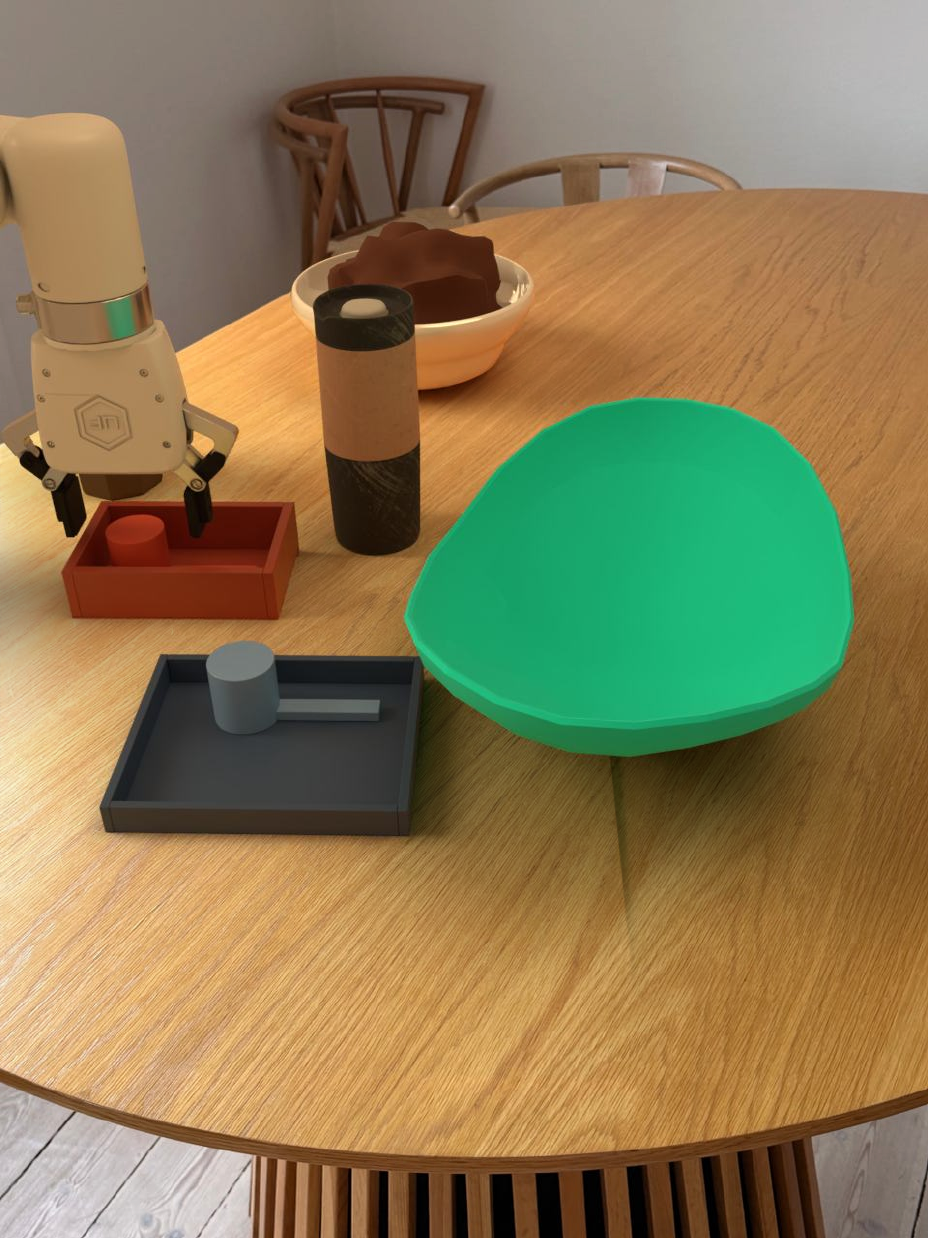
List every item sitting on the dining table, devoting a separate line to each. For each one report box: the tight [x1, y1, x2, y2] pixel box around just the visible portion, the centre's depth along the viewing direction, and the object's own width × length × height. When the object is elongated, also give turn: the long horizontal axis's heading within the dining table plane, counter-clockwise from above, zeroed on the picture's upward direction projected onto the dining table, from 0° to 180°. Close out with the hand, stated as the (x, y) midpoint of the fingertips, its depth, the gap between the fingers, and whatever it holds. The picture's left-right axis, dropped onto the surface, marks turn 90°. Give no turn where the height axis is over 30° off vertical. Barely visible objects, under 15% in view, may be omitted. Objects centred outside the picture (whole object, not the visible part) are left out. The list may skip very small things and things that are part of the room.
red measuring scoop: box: [105, 515, 258, 567], centre depth 94 cm, size 11×4×4 cm, turn 88°
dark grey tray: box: [98, 653, 425, 838], centre depth 78 cm, size 18×15×2 cm
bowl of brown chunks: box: [289, 221, 536, 391], centre depth 125 cm, size 25×25×15 cm
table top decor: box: [403, 396, 855, 758], centre depth 79 cm, size 40×28×13 cm
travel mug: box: [313, 284, 421, 556], centre depth 96 cm, size 8×8×20 cm
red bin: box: [60, 500, 300, 621], centre depth 94 cm, size 16×11×4 cm
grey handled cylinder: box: [206, 640, 381, 735], centre depth 80 cm, size 11×4×4 cm, turn 88°
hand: (138, 528), depth 93 cm, fingers open, 9 cm apart
